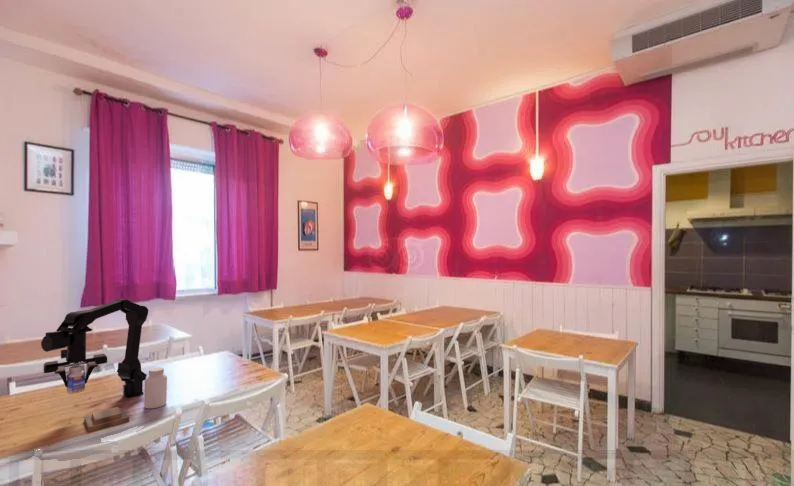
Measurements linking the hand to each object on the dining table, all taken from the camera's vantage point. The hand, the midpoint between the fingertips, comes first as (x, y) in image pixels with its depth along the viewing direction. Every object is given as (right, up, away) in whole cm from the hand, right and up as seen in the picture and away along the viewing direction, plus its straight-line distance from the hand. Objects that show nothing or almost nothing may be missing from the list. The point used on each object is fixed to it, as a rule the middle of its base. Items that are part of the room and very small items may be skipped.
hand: (76, 385), depth 149 cm
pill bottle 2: (+24, -13, +12) cm, 29 cm away
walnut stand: (+14, -13, -3) cm, 19 cm away
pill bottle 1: (0, -3, 0) cm, 3 cm away
